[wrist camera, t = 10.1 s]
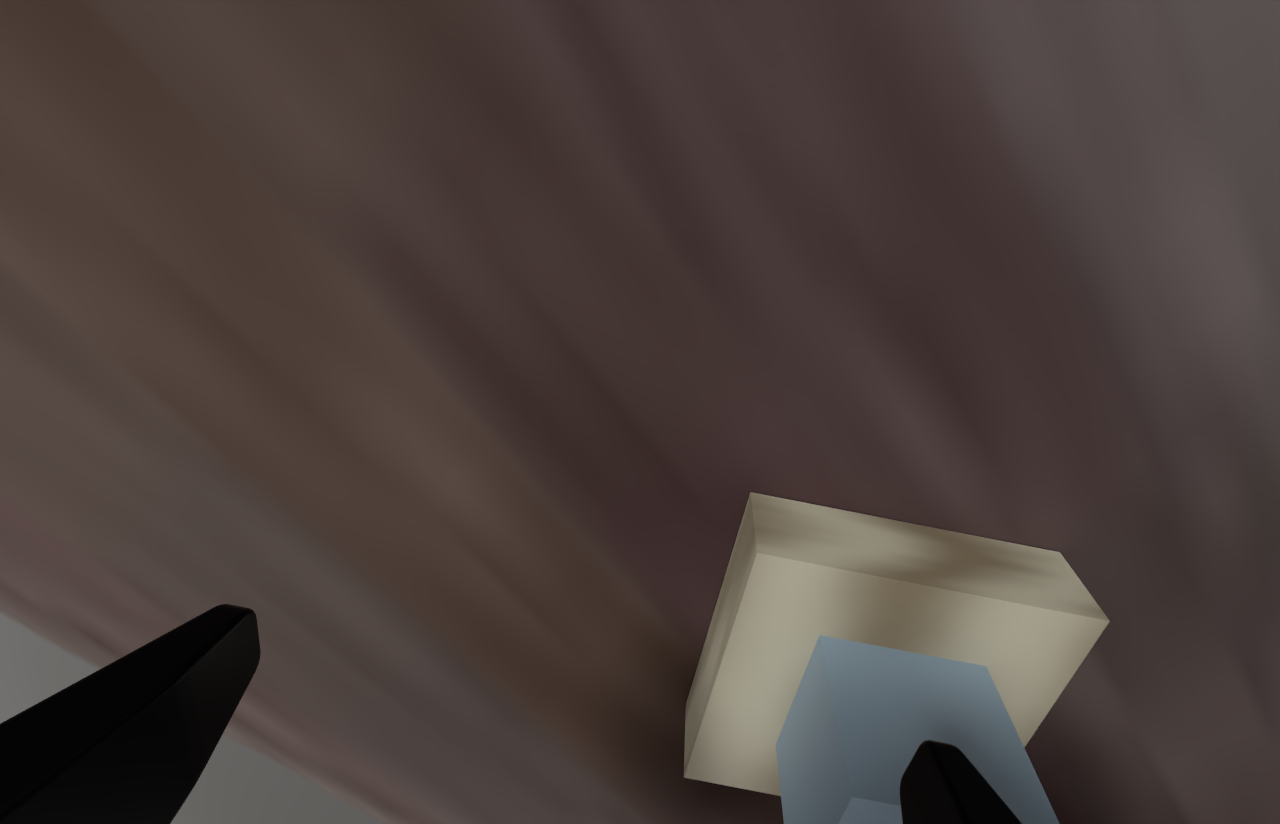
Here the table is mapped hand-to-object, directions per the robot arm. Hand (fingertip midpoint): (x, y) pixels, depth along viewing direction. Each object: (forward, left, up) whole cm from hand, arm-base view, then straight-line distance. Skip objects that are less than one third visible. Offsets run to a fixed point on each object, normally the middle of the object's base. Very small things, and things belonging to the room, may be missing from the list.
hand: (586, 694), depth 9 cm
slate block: (-9, +9, -9) cm, 16 cm away
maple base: (-9, +9, -12) cm, 17 cm away
